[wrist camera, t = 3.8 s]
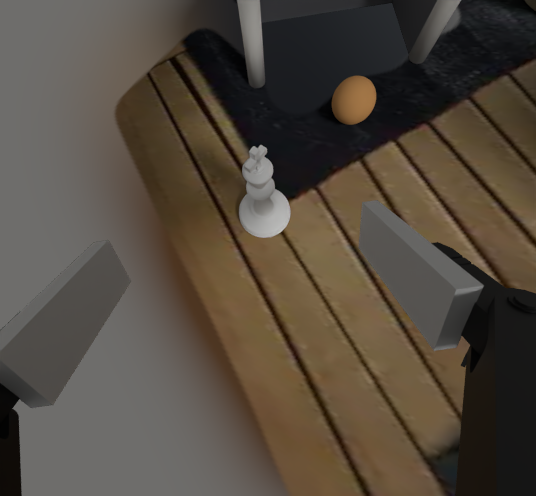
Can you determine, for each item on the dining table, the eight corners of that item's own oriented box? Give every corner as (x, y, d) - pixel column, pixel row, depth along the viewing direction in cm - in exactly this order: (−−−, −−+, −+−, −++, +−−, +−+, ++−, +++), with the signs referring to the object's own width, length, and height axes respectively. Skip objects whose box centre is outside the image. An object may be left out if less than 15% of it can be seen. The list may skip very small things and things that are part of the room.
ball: (356, 94, 26) (369, 58, 22) (374, 124, 25) (391, 92, 21) (321, 108, 26) (329, 74, 22) (338, 139, 25) (349, 109, 21)
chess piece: (300, 206, 24) (315, 140, 14) (270, 247, 23) (263, 207, 13) (259, 180, 24) (245, 99, 15) (229, 219, 24) (193, 160, 14)
